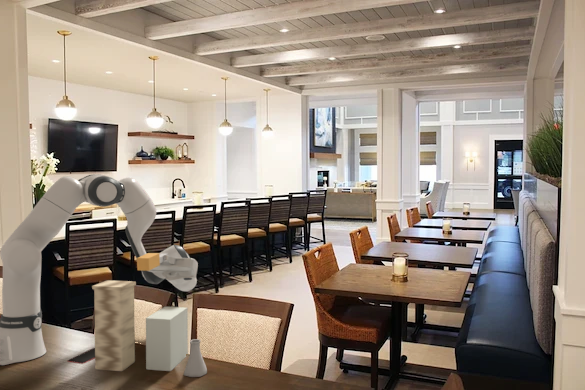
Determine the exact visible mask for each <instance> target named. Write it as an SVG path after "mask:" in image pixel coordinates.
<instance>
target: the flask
mask: <svg viewBox="0 0 585 390" xmlns="http://www.w3.org/2000/svg"><path fill="white" fill-rule="evenodd" d="M201 341H202V340H201V339H199V338H198V339H197V338H196V339H195V338H193V339H191V340H190V341H189V343H190V352H189V355H188V359H187V361H186V366H185V368H184V371H183V376H186V377H189V378H197V377H200V378H201V377H203V376H205V375H207V373H208V369H207V365H206V362H205V361H204V358H203V357H204V356H203V355H202V352H201V347H200V345H201V344H200V343H201Z"/></svg>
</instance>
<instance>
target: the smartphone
mask: <svg viewBox="0 0 585 390" xmlns="http://www.w3.org/2000/svg"><path fill="white" fill-rule="evenodd" d="M92 360H95V347H93V348H91V349H89V350H86V351H84V352H82V353H80V354H77V355H76V356H74V357H72V358H69V359H67V360H66V361H67V362H68V363H73V364H81V365H83V364H86V363H88V362H90V361H92Z"/></svg>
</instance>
